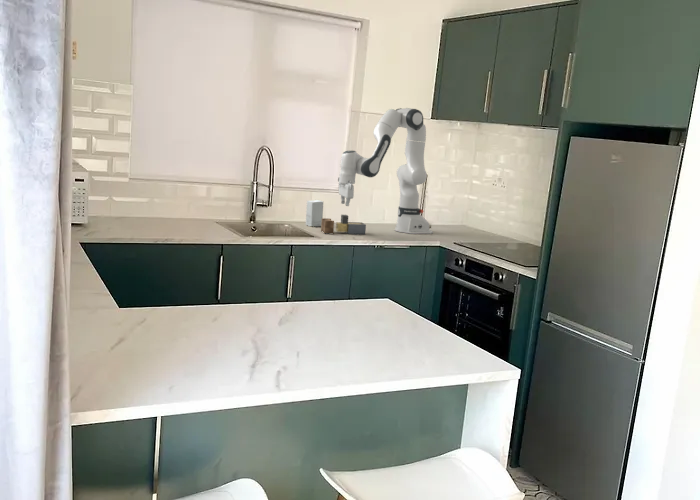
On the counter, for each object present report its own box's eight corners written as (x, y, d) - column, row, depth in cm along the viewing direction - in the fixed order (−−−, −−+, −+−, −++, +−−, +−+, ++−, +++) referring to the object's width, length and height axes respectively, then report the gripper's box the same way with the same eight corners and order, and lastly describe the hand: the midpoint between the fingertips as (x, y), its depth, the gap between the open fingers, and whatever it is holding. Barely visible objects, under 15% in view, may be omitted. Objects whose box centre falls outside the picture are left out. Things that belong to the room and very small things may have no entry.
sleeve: (361, 232, 404) (362, 222, 403) (365, 234, 396) (366, 224, 395) (344, 231, 401) (345, 221, 400) (348, 234, 393) (348, 224, 392)
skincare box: (316, 224, 419) (318, 199, 417) (322, 226, 415) (324, 201, 412) (304, 225, 414) (306, 200, 411) (311, 227, 410) (312, 201, 407)
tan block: (359, 230, 401) (361, 215, 400) (361, 232, 397) (363, 216, 395) (335, 230, 398) (336, 214, 396) (337, 231, 393) (338, 215, 392)
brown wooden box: (329, 231, 399) (330, 218, 398) (333, 234, 391) (334, 221, 389) (320, 230, 398) (321, 218, 397) (324, 233, 389) (325, 220, 388)
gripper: (357, 182, 382) (355, 207, 385) (348, 178, 402) (346, 202, 404) (346, 181, 381) (344, 207, 383) (337, 177, 400) (335, 202, 402)
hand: (345, 204), depth 394 cm, fingers open, 8 cm apart
